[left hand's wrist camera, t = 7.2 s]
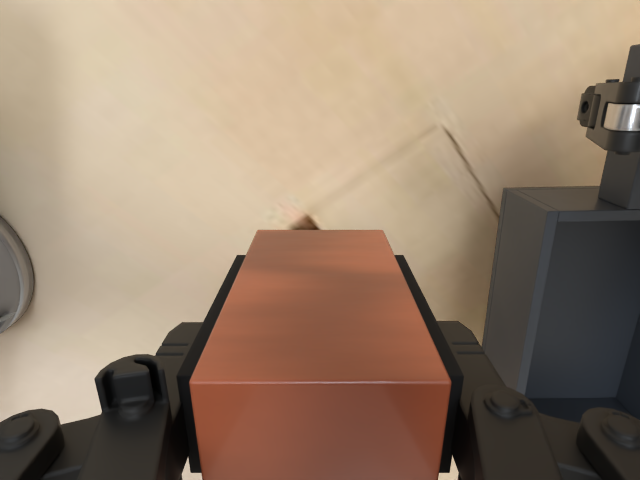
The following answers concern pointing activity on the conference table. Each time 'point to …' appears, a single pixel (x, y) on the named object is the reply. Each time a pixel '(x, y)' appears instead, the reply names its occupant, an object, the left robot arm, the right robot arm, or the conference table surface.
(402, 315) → the block
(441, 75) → the conference table surface
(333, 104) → the conference table surface
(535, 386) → the tray
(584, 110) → the right robot arm
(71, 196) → the conference table surface
